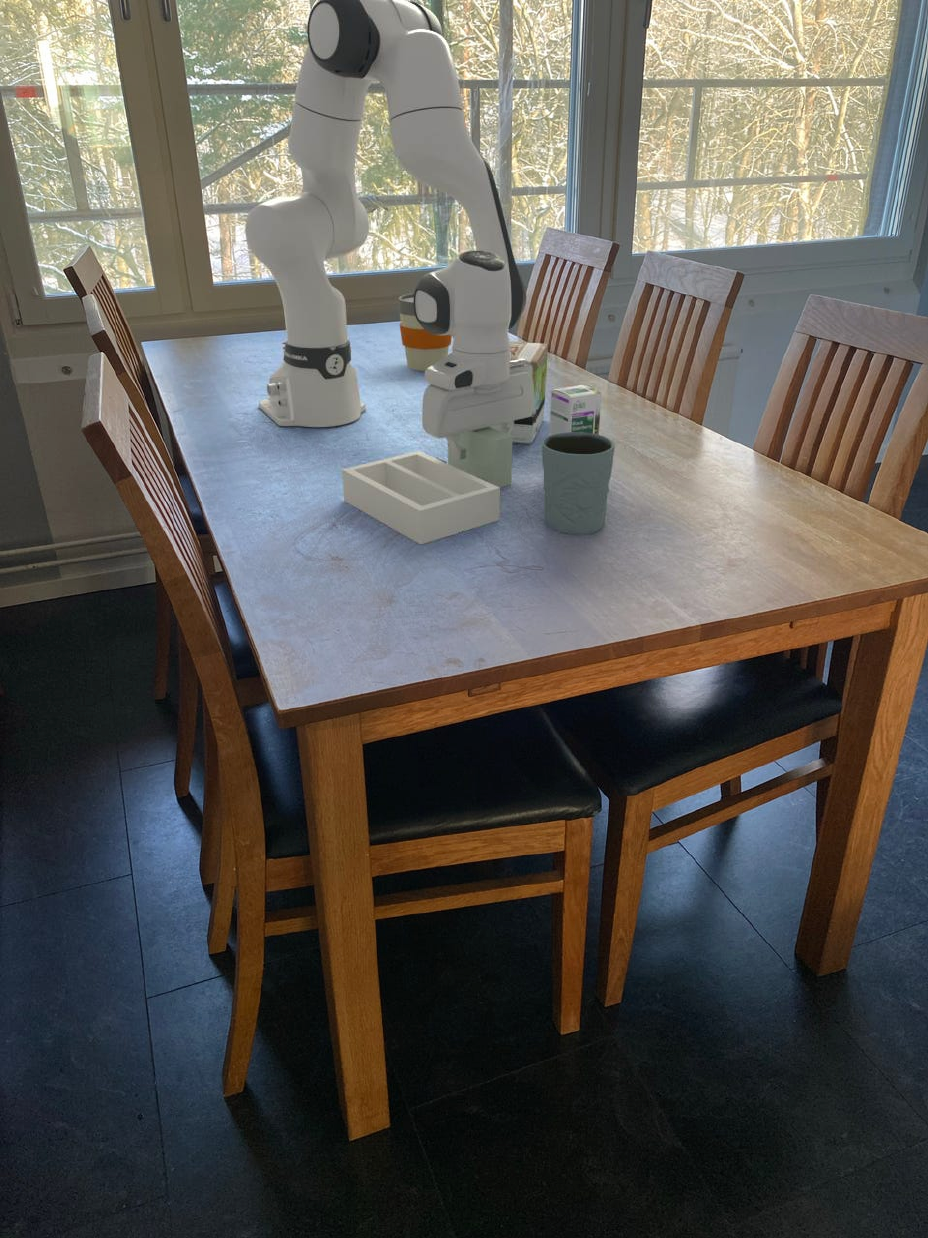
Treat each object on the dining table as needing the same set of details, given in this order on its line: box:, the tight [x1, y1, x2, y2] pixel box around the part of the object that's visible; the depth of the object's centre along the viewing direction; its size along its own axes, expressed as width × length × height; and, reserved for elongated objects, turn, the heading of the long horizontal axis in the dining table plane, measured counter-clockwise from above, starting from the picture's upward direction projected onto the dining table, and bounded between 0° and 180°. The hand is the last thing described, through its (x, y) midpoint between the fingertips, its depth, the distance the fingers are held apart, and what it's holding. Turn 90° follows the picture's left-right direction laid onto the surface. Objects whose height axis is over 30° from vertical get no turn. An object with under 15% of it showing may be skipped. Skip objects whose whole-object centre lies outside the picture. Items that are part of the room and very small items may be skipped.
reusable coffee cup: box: [397, 293, 453, 372], centre depth 208 cm, size 13×13×15 cm
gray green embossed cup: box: [541, 432, 616, 535], centre depth 131 cm, size 10×10×12 cm
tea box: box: [489, 341, 549, 444], centre depth 167 cm, size 15×10×15 cm, turn 168°
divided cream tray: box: [341, 450, 501, 545], centre depth 136 cm, size 20×15×5 cm
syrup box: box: [548, 384, 602, 436], centre depth 145 cm, size 6×6×14 cm
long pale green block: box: [447, 427, 513, 489], centre depth 148 cm, size 12×4×8 cm, turn 38°
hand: (480, 453), depth 148 cm, fingers open, 7 cm apart
